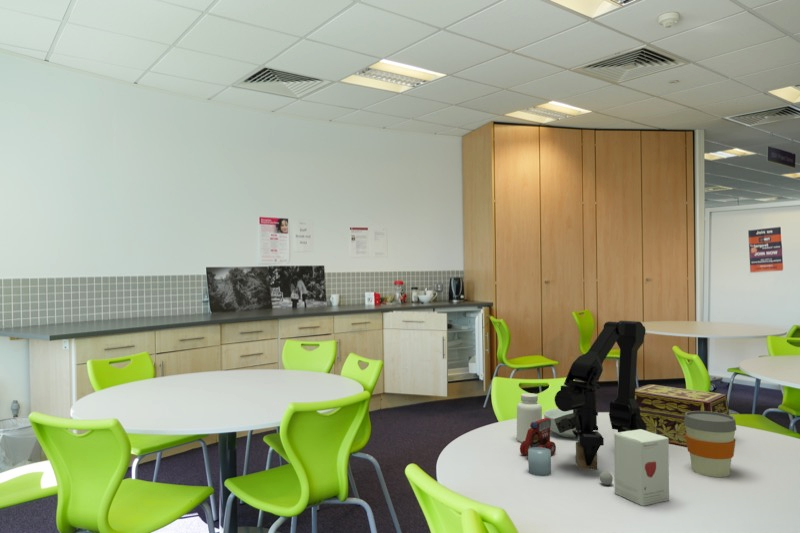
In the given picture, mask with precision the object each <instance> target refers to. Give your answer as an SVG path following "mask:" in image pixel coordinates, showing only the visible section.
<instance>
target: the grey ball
mask: <svg viewBox="0 0 800 533" xmlns="http://www.w3.org/2000/svg"><path fill="white" fill-rule="evenodd" d="M599 481H600V483H602V484H603V485H606V486H607V485H611V484H612V483H613V481H614V477H613V475H612V474H611V473H610V472H609V471H606V470H605V471H601V473H600V474H599Z"/></svg>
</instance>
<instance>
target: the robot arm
mask: <svg viewBox="0 0 800 533" xmlns="http://www.w3.org/2000/svg"><path fill="white" fill-rule="evenodd" d="M646 329H647V328H646V327H645V325H644V324H643V323H642V322H641V321H635V320H618V321H611V320H610V321H605V323H604V324H603V329H602V330H601V332H600V333H599V334H598V336H597V337H596V339H595V340H594V341H593V343H592V344H591V346H590V347H589V349H588V350H587V352H586V353H584V354H581V355H579V356H578V357H577V358H576V359H575V360H573V362H572V363H571V366H570V368H569V371H568V373H567V375H566V378H565V379H564V380H565V381H564V382H563V385H560V390H558V391H557V392H556V393H555V395H554V404H555V406H556V407H557V408H558V409H560V410H561V411H564V412H565V411H570V410H573V413H571V414H567V415H564V416H561V417H558V418H555V419H554V420H555V423H556V426H557V428H558V431H559V433H563V432H565V431H567V430H570V429H574V428H575V430H572V432H573V434H574V435H575V436H576V437H575V438H577V441H576V442H578V443H579V444H580V445H581V446H582V447H583V451H584V456H585V461H586V465H587V466H591V464H592V461H593V459H594V457H595V455H596V453H597V454H598V451H599V449H600V447H601V446H604V444H605V443H604V437H603V435H602V434H601V433H600V432H599V426H598V425H597V423H598V422H597V421H598V420H597V419H598V418H597V417H598V416H599V412H598V409H597V390H600V389H601V386H600V385H599V384H598V383H597V382H598V381H599V380H600V378H601V375H602V373H603V371H604V368H603V363H604V361H605V359H606V358H607V356H608V355H609V353H610V352H611V350H612V349H613V347H614V346H615V344H616V345H617V346H618V348H619V363H618V379H617V380H618V381H617V396H616V397H615V399H614V400H613V401H610V403H609V413H608V415H609V421H610V425H611V429H612V430H616V431H617V433H618V432H625V431H632V430H639V429H642V430H645V431H646V427H647V425H646V424H645V422H644V421H643V419H642V418H641V416H640V408H639V406H638V404H637V402H636V400H635V389H636V382H637V364H638V362H637V361H638V351H639V349H640V348H641V347H642V345H643V344H644V342H645V336H646V333H647V332H646Z"/></svg>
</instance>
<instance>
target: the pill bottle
mask: <svg viewBox="0 0 800 533" xmlns="http://www.w3.org/2000/svg"><path fill="white" fill-rule="evenodd" d="M542 413H543V408H542V405H541V404H540V403H539V402H538V394H536V393H531V392H530V393H529V392H526V393H525V392H523V393H521V394H520V402H518V403H517V405H516V440H517V441H518V442H520V443H522V442H523V441H525V439H526V435H527V432H528V429H530V428H531V427H530V424H531V423H532V422H536V421H539V420H541V419H543V414H542Z"/></svg>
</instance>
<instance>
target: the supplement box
mask: <svg viewBox="0 0 800 533" xmlns="http://www.w3.org/2000/svg"><path fill="white" fill-rule="evenodd" d="M613 434H614V435H613V436H614V437H613V438H614V439H613V440H614V442H613V443H614V450H613V452H614V455H613V457H614V458H613V459H614V464H613V465H614V466H613V467H614V471H613V472H614V473H613V474H614V477H613V481H614V494H616V495H618V496H620V497H622V498H625V499H627V500H629V501H631V502H633V503H635V504H637V505H640V506H641V507H642V506H643V507H644V506H650V505H652V504H657V503H661V502H666V501H667V502H668V501H670V478H669V477H670V470H669V468H670V465H669V464H670V463H669V462H670V461H669V459H670V456H669V455H670V454H669V445H670V444H669V443H668V438H667V437H664V436H661V435H658V434H654V433H651V432H648V431H645V430H642V429H639V430H632V431H625V432H618V431H617V432H614V433H613Z"/></svg>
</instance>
